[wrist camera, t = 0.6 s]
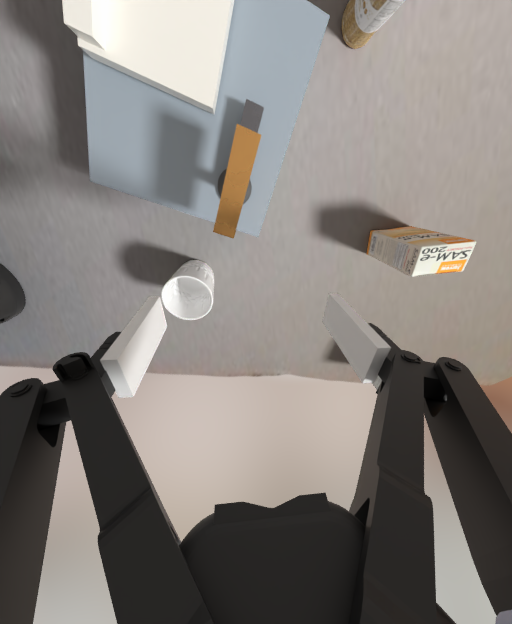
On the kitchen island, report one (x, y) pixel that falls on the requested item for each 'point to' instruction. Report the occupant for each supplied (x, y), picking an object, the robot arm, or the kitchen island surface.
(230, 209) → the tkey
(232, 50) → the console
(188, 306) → the white cup
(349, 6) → the sprinkles bottle
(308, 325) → the kitchen island surface
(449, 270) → the supplement box
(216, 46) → the cover
